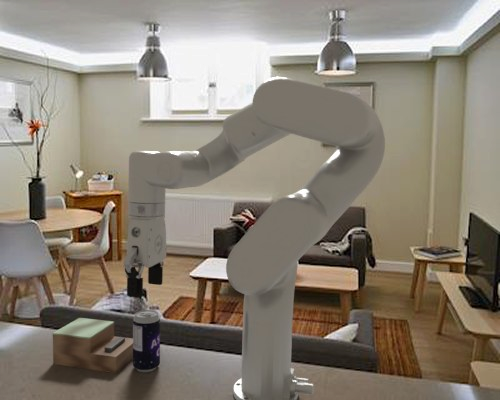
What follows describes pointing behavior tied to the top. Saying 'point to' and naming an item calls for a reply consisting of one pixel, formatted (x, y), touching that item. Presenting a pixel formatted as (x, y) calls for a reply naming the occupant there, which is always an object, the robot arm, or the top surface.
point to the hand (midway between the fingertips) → (145, 290)
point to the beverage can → (146, 340)
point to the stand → (91, 346)
